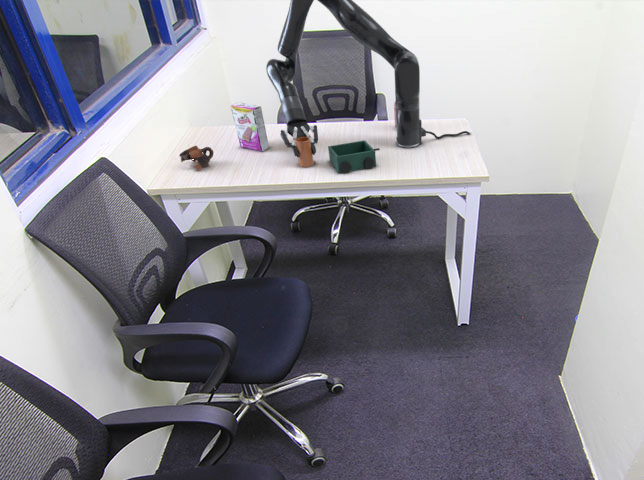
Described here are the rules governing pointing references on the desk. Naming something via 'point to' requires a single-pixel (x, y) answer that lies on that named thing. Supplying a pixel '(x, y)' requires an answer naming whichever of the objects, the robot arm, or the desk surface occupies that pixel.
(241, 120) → the candy bar box
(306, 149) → the orange cup
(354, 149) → the cart
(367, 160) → the cart wheels
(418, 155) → the desk surface
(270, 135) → the desk surface
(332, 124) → the desk surface
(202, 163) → the pottery mug
